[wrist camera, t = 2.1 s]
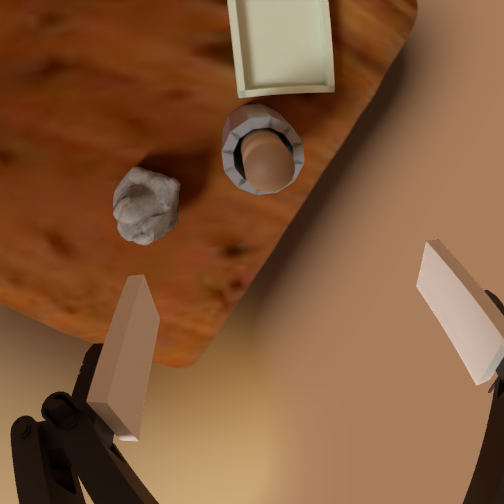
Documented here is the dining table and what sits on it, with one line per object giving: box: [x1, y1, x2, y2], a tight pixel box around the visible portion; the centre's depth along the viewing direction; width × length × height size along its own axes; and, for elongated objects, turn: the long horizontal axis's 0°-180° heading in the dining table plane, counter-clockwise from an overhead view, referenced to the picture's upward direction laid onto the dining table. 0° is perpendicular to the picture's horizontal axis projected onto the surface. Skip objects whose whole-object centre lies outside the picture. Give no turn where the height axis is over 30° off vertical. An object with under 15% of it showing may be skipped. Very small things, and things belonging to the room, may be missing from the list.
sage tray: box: [227, 0, 335, 98], centre depth 30 cm, size 14×11×2 cm
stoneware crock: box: [222, 103, 304, 195], centre depth 34 cm, size 8×8×10 cm
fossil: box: [113, 166, 181, 245], centre depth 38 cm, size 11×9×8 cm
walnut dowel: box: [239, 127, 295, 192], centre depth 31 cm, size 6×4×14 cm
